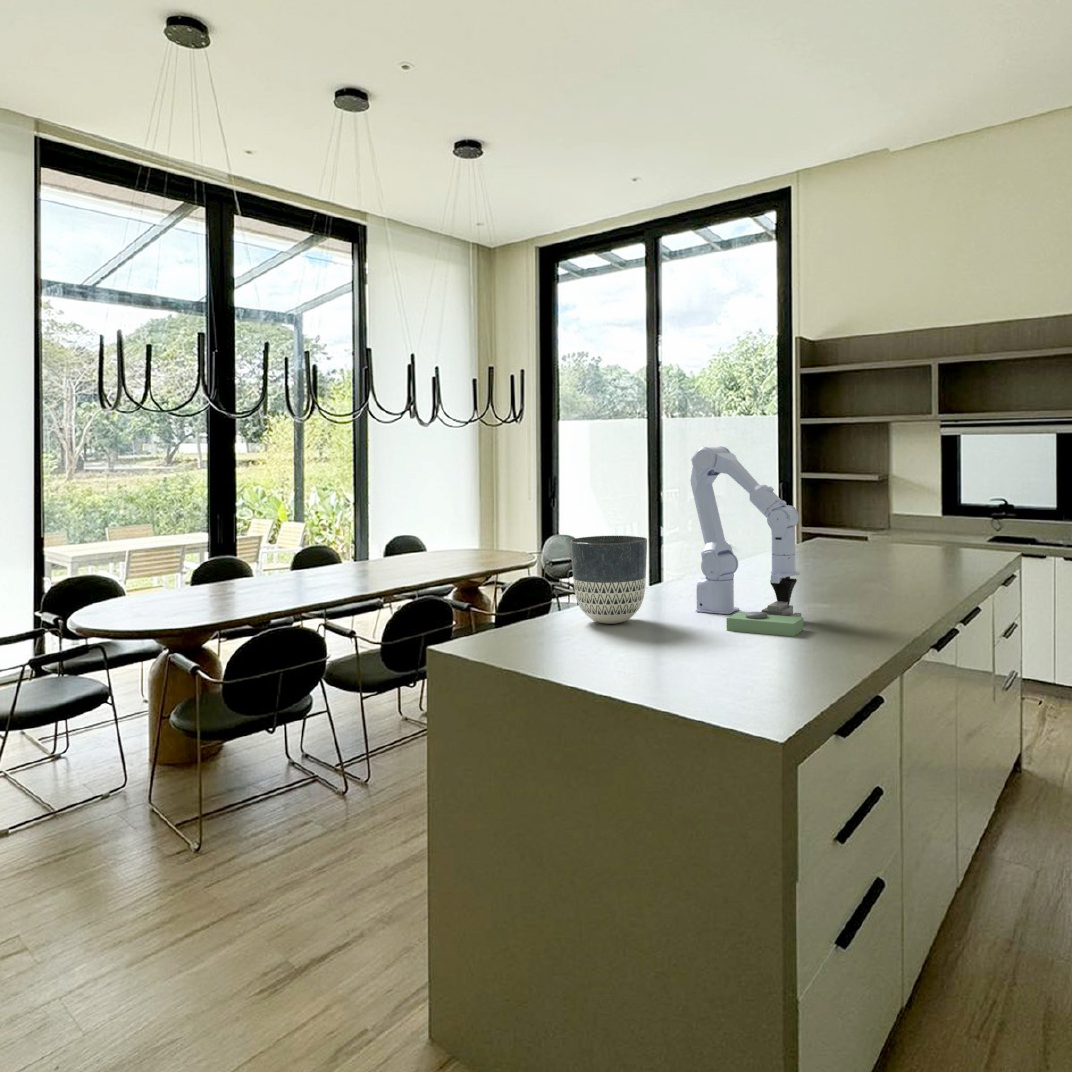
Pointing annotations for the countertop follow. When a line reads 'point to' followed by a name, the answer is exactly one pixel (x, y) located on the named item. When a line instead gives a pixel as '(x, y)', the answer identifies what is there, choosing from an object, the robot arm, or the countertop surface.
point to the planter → (609, 576)
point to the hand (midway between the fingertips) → (783, 607)
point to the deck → (766, 623)
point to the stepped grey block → (779, 609)
